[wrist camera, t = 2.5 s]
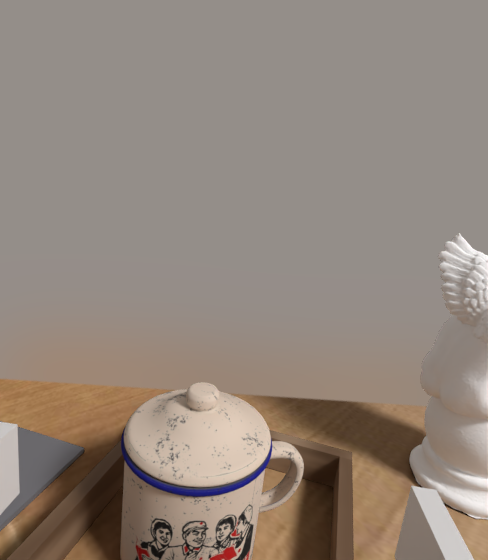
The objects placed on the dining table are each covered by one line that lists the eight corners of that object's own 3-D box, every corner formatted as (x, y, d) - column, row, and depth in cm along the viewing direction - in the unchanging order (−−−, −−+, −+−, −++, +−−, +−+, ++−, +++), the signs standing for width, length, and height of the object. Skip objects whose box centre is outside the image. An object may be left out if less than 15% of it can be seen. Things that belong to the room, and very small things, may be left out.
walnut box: (-29, 646, 18) (-33, 599, 18) (157, 427, 36) (158, 400, 36) (342, 833, 14) (357, 781, 14) (345, 482, 32) (351, 452, 32)
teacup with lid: (111, 639, 19) (119, 446, 17) (119, 499, 28) (125, 355, 25) (319, 594, 23) (353, 428, 20) (270, 481, 31) (289, 353, 29)
